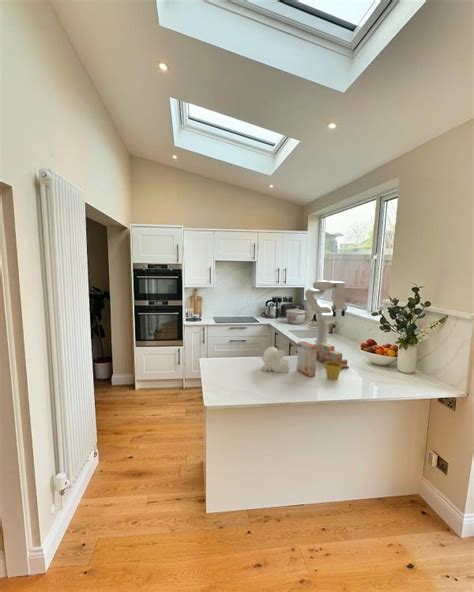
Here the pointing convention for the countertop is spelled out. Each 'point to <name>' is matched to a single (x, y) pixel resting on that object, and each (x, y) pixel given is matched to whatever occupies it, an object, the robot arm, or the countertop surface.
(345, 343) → the countertop surface
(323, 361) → the cradle
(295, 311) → the chamber pot
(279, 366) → the cauliflower
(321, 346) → the stack of blocks
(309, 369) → the cracker box
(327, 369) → the plant pot
